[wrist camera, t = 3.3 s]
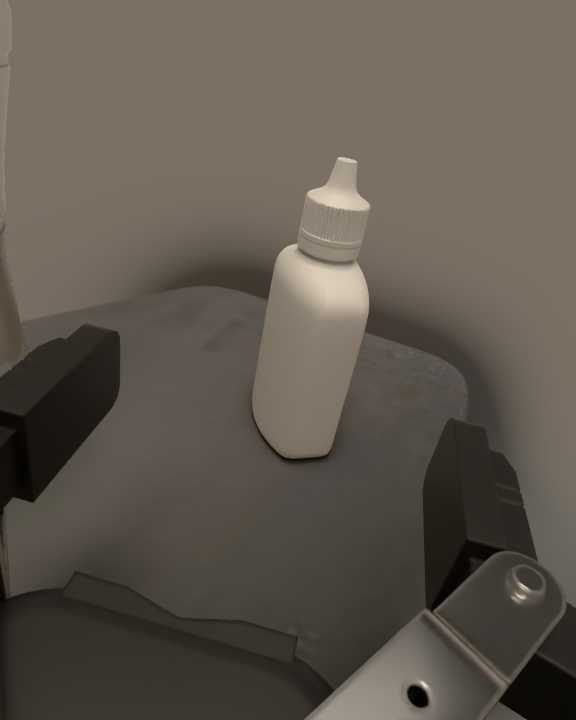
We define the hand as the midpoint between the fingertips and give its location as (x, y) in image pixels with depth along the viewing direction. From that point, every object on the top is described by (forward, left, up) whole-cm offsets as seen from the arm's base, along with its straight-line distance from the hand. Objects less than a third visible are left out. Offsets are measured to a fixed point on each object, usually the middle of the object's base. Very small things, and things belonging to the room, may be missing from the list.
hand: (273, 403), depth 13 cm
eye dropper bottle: (0, +10, -8) cm, 13 cm away
